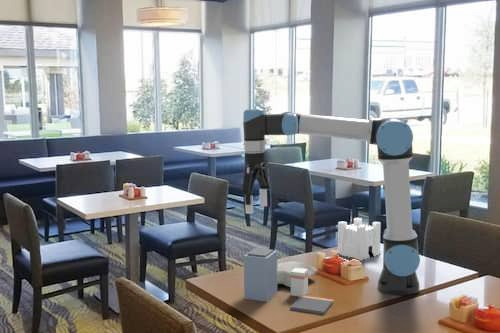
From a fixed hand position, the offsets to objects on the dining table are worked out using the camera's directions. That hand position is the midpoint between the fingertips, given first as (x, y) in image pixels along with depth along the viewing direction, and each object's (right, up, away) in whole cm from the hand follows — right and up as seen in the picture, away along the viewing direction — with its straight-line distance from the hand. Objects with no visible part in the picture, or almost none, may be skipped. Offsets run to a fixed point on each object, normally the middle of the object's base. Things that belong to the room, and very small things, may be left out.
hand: (256, 209), depth 212 cm
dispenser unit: (+2, -32, +1) cm, 32 cm away
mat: (+19, -33, -10) cm, 39 cm away
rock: (+12, -30, +15) cm, 36 cm away
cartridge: (+16, -31, +2) cm, 35 cm away
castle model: (+47, -25, +52) cm, 75 cm away
